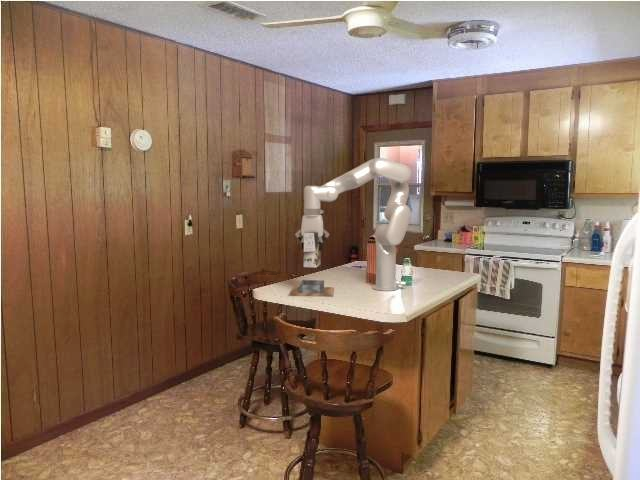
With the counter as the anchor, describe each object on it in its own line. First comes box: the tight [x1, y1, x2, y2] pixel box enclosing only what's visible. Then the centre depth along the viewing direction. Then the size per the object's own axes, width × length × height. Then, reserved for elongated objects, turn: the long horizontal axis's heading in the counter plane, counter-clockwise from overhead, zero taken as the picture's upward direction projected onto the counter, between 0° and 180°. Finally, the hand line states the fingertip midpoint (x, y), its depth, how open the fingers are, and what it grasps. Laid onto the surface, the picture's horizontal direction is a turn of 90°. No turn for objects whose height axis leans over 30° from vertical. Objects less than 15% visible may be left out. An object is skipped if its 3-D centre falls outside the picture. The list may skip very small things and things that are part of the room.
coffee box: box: [303, 232, 321, 268], centre depth 229 cm, size 9×6×16 cm
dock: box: [288, 279, 335, 298], centre depth 231 cm, size 20×15×5 cm
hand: (312, 250), depth 229 cm, fingers closed on coffee box, 6 cm apart
